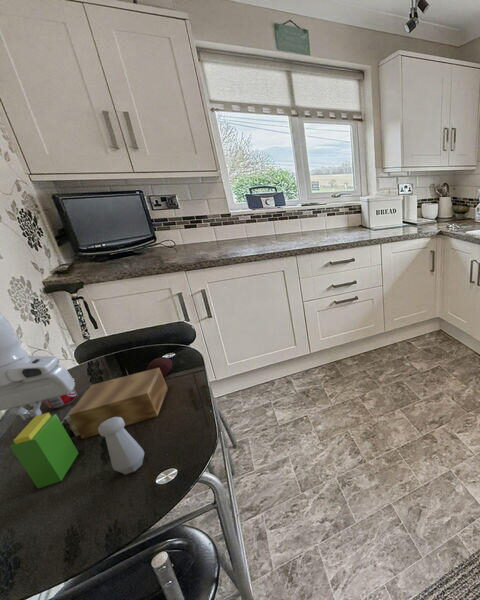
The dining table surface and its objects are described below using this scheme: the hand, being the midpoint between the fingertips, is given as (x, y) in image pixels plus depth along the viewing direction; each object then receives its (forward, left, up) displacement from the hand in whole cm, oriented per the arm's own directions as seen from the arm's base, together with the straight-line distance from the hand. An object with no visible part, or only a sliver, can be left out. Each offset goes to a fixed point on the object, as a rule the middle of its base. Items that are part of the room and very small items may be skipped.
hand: (33, 417), depth 85 cm
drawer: (+15, 0, -5) cm, 16 cm away
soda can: (-2, +17, -7) cm, 18 cm away
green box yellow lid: (+10, -18, -6) cm, 21 cm away
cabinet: (+19, 0, -6) cm, 20 cm away
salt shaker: (+26, -26, -7) cm, 37 cm away
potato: (+24, +18, -7) cm, 31 cm away
